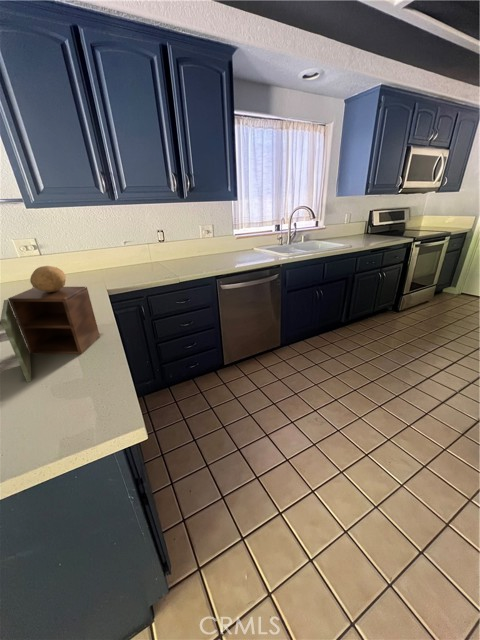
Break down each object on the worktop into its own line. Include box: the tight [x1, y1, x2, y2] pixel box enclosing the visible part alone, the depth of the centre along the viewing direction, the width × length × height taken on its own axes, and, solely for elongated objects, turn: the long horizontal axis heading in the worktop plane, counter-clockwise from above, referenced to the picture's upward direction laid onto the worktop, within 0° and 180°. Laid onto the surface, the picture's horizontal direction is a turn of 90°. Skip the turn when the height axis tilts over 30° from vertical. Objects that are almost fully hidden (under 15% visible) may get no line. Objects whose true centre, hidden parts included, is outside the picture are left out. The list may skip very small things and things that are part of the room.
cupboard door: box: [0, 299, 32, 383], centre depth 76 cm, size 8×18×20 cm, turn 37°
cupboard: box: [7, 286, 101, 355], centre depth 91 cm, size 12×18×20 cm, turn 88°
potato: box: [29, 265, 67, 292], centre depth 86 cm, size 10×14×8 cm
